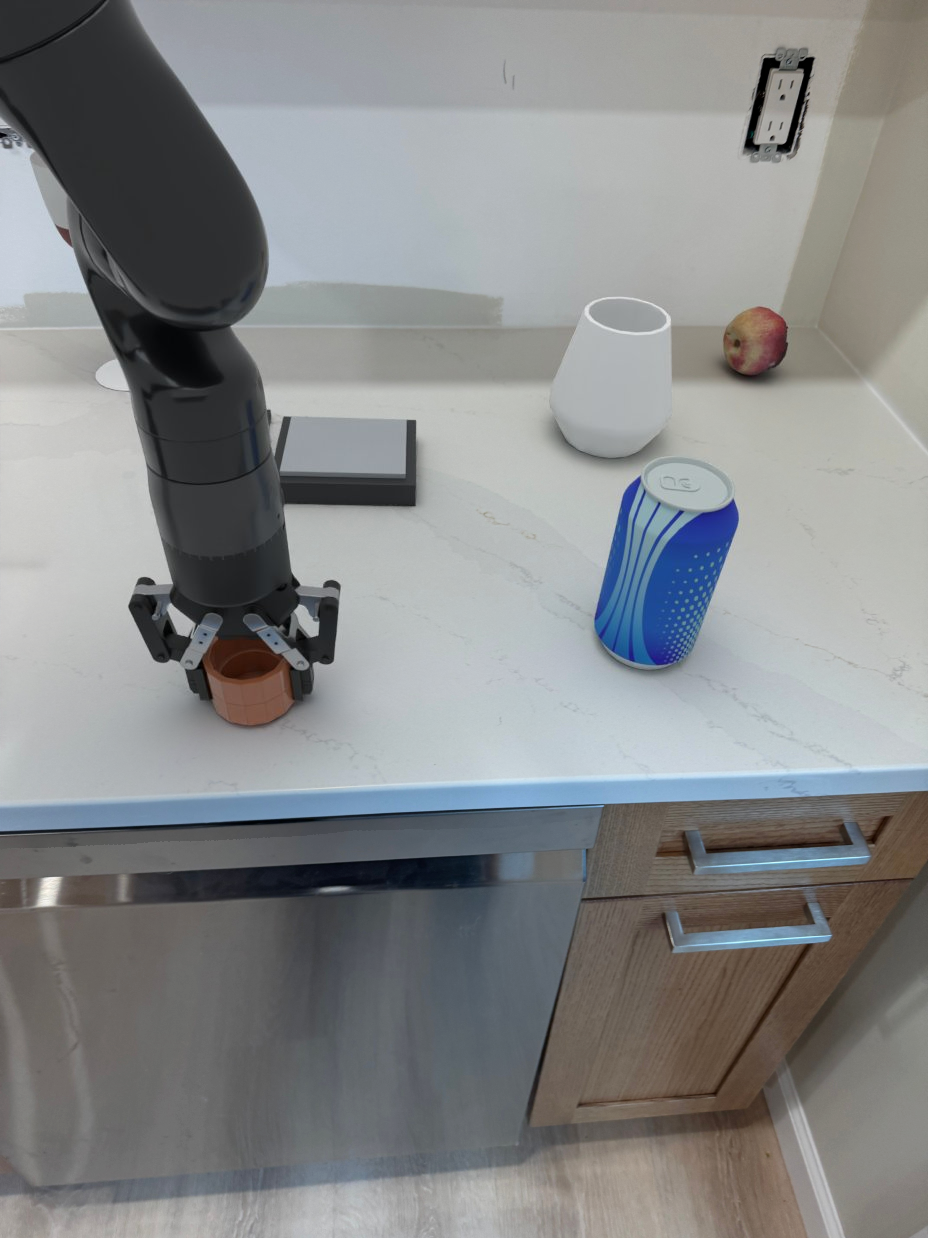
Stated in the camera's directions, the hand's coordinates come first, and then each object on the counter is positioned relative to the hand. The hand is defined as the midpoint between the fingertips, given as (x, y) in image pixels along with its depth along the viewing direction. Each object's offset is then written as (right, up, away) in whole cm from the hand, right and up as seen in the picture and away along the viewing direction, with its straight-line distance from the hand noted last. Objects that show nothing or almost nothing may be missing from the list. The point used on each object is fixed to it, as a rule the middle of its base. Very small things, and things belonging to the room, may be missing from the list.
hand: (255, 691), depth 62 cm
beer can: (+31, +4, +7) cm, 32 cm away
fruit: (+52, +37, +43) cm, 77 cm away
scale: (+4, +21, +23) cm, 31 cm away
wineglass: (-23, +34, +35) cm, 54 cm away
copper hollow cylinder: (0, -1, 0) cm, 1 cm away
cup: (+31, +26, +30) cm, 51 cm away
